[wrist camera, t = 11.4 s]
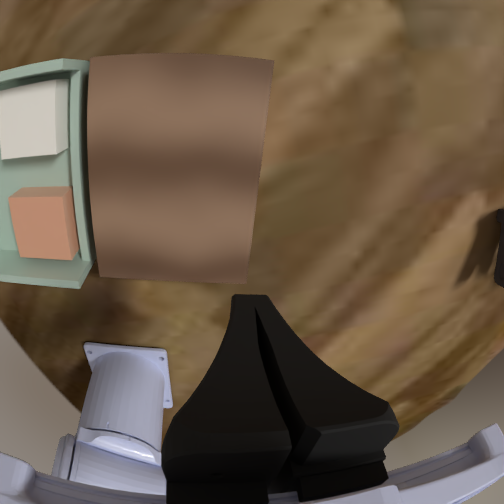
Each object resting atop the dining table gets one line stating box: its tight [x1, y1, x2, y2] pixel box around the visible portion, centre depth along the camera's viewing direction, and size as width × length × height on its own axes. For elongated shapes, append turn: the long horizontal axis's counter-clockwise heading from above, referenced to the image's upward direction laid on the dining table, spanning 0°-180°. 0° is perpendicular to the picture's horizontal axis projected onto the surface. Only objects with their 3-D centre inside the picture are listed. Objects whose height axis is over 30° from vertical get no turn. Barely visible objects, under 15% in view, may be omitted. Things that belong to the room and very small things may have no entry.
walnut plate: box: [87, 53, 274, 284], centre depth 18 cm, size 14×10×2 cm
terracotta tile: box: [8, 186, 80, 260], centre depth 18 cm, size 4×4×2 cm
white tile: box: [0, 79, 70, 160], centre depth 15 cm, size 4×4×2 cm
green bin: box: [0, 58, 97, 289], centre depth 16 cm, size 14×11×4 cm
